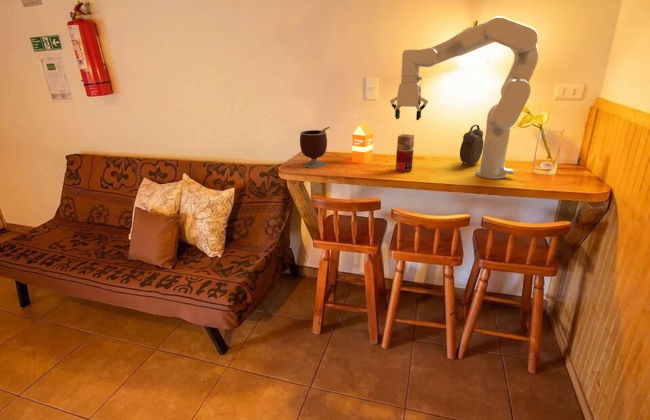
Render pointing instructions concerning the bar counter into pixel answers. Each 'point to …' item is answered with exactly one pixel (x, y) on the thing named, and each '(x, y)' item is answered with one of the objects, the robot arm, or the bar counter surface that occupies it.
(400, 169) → the canned food
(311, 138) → the mate gourd
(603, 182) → the bar counter surface
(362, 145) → the orange juice
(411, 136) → the walnut cube
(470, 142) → the alarm clock
